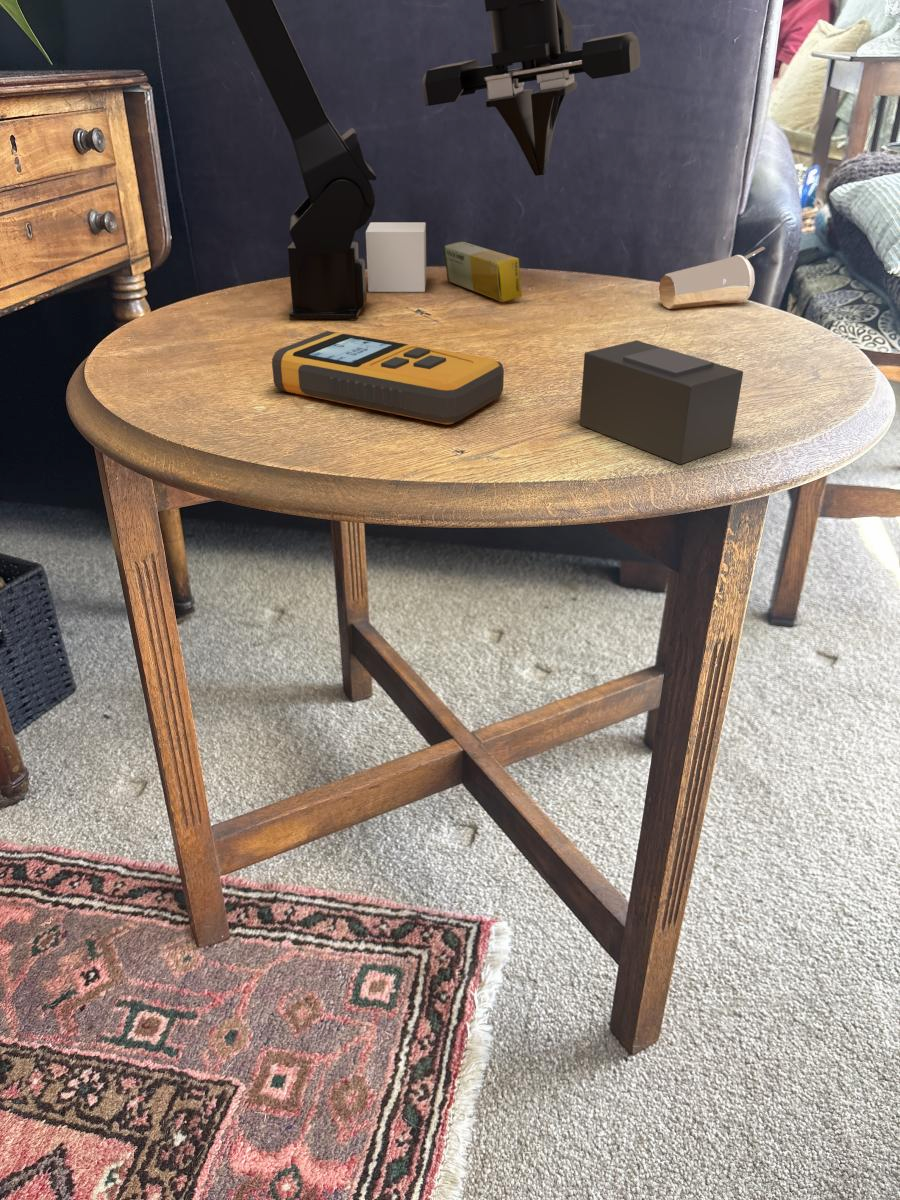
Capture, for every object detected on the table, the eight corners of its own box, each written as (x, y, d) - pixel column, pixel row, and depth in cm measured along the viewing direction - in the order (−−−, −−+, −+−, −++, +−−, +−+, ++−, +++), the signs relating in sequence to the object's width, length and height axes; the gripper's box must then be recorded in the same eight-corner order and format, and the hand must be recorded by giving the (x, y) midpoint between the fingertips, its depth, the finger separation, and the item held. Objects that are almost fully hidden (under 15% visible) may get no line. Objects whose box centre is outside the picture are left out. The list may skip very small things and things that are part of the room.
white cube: (368, 292, 99) (365, 231, 96) (372, 279, 104) (369, 222, 101) (425, 291, 99) (424, 231, 96) (426, 279, 104) (425, 221, 101)
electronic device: (451, 435, 63) (451, 387, 61) (270, 395, 70) (266, 350, 68) (509, 399, 69) (511, 354, 68) (337, 365, 76) (335, 323, 74)
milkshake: (662, 250, 91) (752, 235, 93) (651, 300, 95) (738, 284, 97) (684, 274, 88) (776, 258, 90) (672, 324, 92) (761, 308, 94)
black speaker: (584, 348, 62) (691, 382, 55) (637, 336, 64) (744, 367, 58) (578, 424, 64) (680, 465, 58) (629, 410, 67) (731, 447, 61)
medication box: (445, 283, 103) (441, 245, 101) (467, 278, 104) (463, 240, 102) (500, 303, 94) (497, 261, 92) (523, 297, 95) (521, 256, 92)
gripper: (645, -48, 82) (655, 146, 90) (448, -6, 89) (473, 170, 97) (622, -46, 74) (634, 168, 82) (405, -1, 81) (437, 193, 89)
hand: (540, 174), depth 88 cm, fingers closed
